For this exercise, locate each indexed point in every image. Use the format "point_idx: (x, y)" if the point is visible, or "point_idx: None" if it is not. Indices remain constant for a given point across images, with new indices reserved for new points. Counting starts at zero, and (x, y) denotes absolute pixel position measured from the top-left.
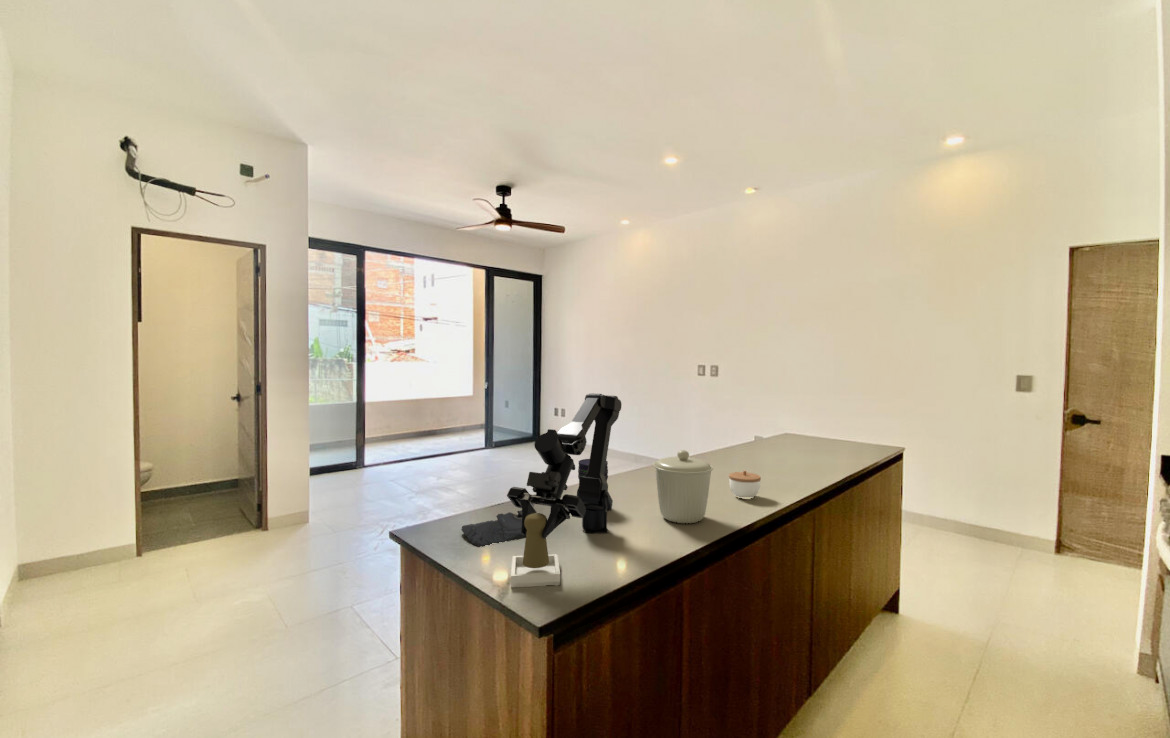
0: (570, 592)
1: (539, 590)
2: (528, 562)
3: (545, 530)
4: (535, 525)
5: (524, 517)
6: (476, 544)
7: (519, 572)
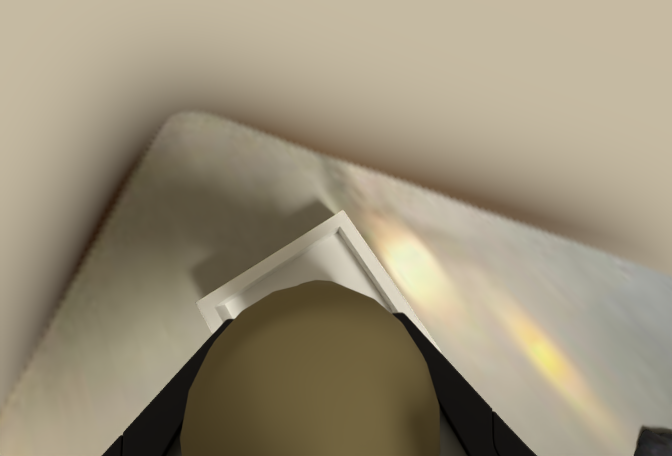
0: (164, 275)
1: (257, 242)
2: (322, 282)
3: (202, 354)
4: (260, 301)
5: (470, 417)
6: (666, 436)
7: (363, 293)
